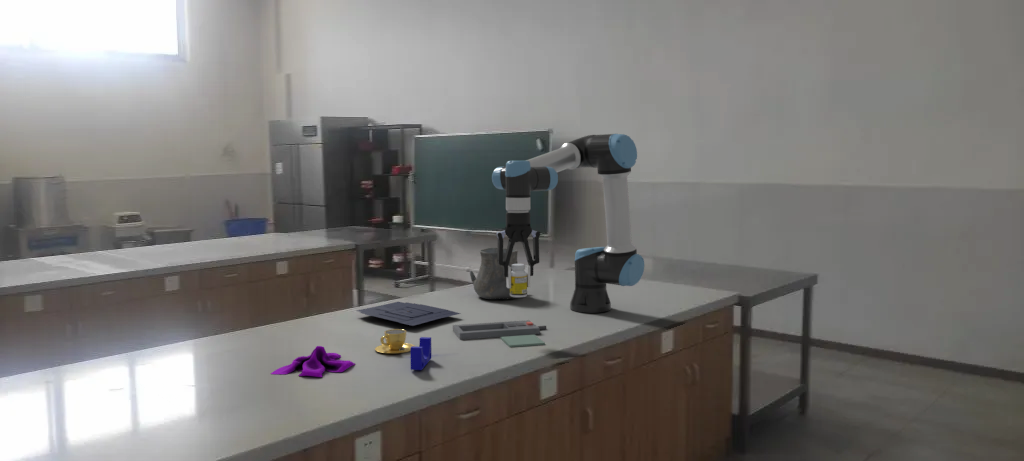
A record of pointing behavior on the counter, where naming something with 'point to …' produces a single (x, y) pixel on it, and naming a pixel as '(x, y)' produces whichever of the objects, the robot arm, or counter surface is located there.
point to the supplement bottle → (518, 281)
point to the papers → (407, 312)
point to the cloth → (316, 364)
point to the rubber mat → (522, 340)
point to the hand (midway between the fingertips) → (518, 286)
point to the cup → (394, 342)
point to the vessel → (492, 275)
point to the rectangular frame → (496, 329)
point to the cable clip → (421, 354)
